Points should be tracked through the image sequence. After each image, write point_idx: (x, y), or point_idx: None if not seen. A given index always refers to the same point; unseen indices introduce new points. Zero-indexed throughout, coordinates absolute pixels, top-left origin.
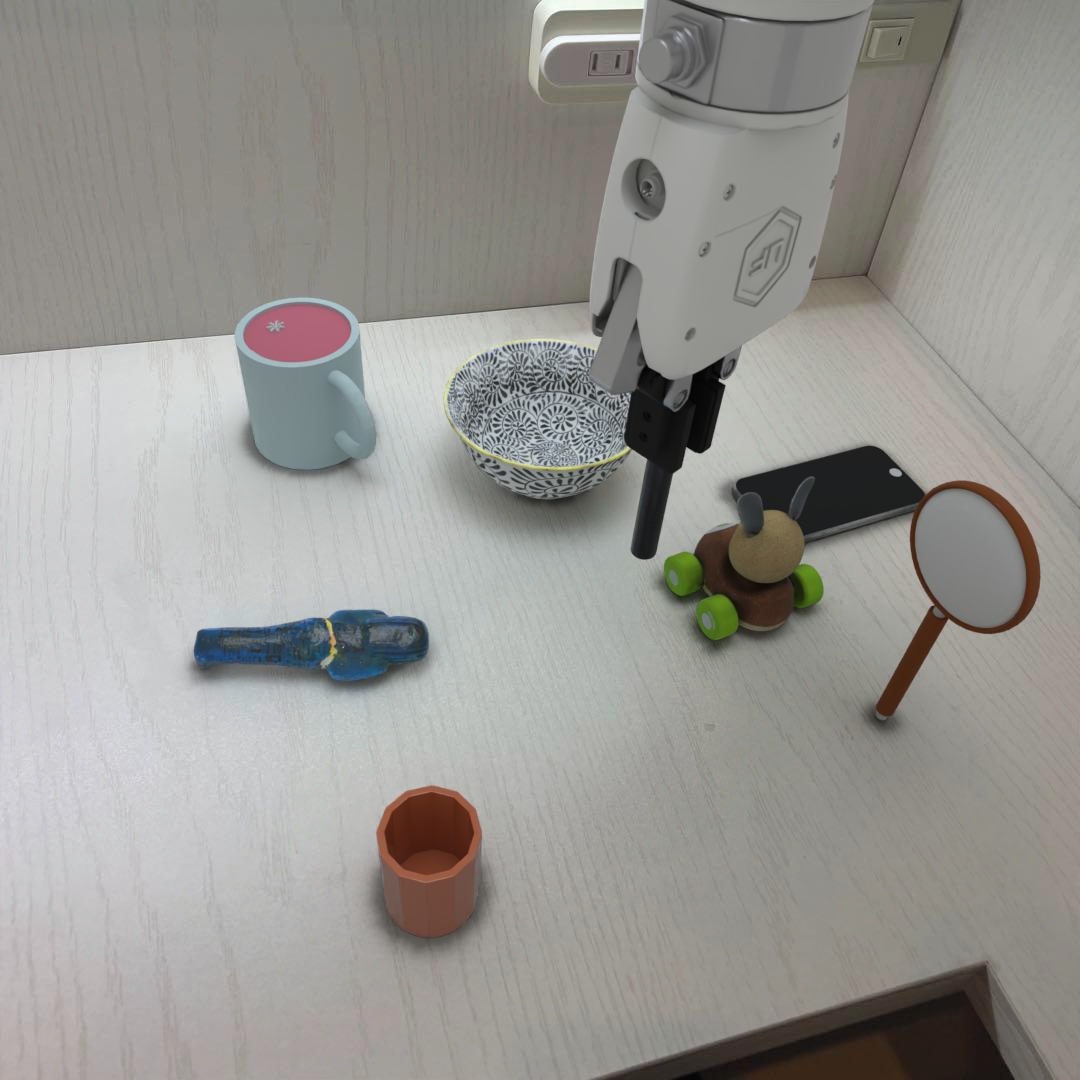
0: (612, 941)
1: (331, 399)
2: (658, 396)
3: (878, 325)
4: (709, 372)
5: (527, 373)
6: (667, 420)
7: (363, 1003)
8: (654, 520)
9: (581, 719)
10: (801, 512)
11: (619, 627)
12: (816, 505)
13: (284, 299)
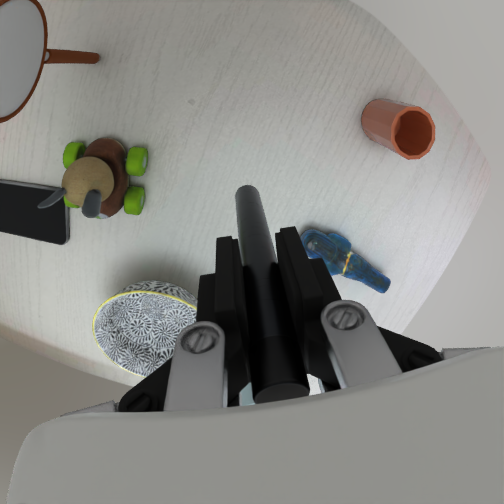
0: (331, 43)
1: None
2: (382, 332)
3: None
4: (233, 344)
5: (148, 359)
6: (324, 293)
7: (426, 104)
8: (257, 206)
9: (255, 148)
10: None
11: (190, 189)
12: (32, 206)
13: None
